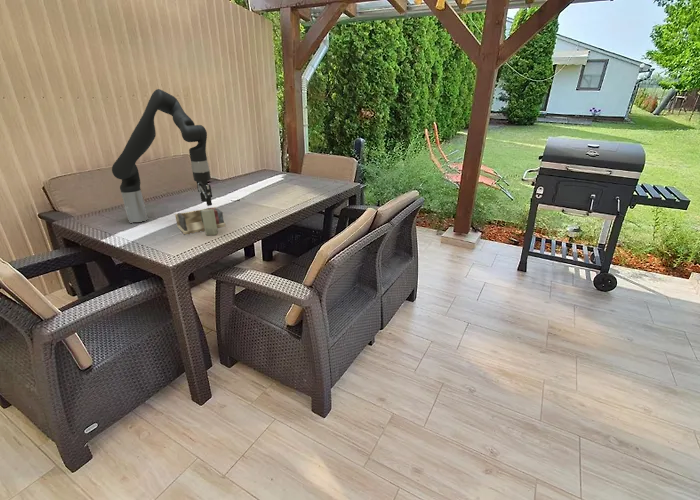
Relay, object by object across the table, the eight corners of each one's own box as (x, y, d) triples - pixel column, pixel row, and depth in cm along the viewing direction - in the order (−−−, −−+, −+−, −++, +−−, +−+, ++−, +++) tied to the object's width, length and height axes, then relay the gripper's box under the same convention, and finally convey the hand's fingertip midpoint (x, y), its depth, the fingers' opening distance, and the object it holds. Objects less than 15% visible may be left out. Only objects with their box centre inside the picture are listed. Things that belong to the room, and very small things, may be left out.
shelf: (184, 235, 175) (181, 219, 172) (177, 227, 184) (174, 212, 181) (225, 226, 187) (223, 211, 183) (217, 219, 196) (215, 205, 193)
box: (218, 232, 179) (214, 208, 174) (215, 235, 175) (211, 211, 170) (207, 232, 179) (203, 208, 173) (205, 235, 175) (200, 211, 169)
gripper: (188, 168, 167) (194, 201, 173) (197, 173, 156) (203, 208, 163) (204, 166, 171) (209, 198, 178) (213, 171, 161) (219, 205, 167)
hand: (206, 203), depth 170 cm, fingers open, 8 cm apart
